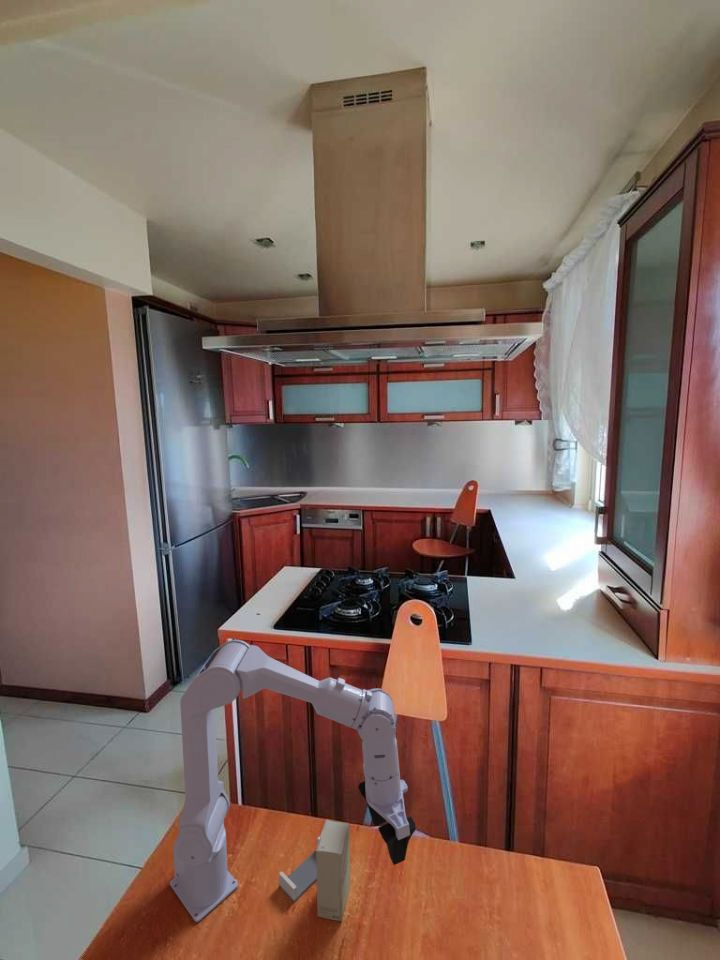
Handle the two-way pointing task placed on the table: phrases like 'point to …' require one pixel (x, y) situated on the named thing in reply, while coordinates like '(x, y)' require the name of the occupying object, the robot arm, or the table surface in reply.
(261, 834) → the table surface
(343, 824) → the skincare box
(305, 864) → the u rest
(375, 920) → the table surface
